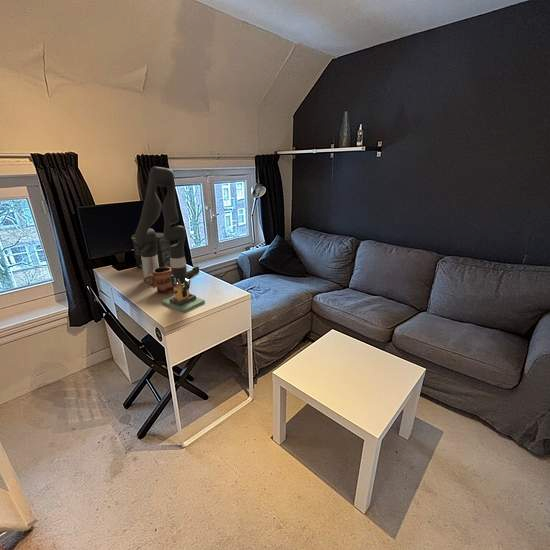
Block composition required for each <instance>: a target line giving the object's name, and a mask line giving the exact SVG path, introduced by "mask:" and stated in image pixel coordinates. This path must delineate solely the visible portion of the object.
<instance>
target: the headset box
mask: <svg viewBox="0 0 550 550" xmlns="http://www.w3.org/2000/svg"><path fill="white" fill-rule="evenodd" d="M155 233H156V238H157V256H158V263H159V268H161V267H171V264H170V252H169V247H170V246H171V241H167V240H166V239H165V238H164V235H163V232H155ZM130 236H131V240H132V246H133V251H134V257H135V262H136V268H137V269H142V270H143V268H142V267H143V264H142V258H141V251H142V250H143V249H144V248H145V247H146V246H147V245H143V246H140V245H138V244H137V243H136V241H135V234H132V235H130Z"/></svg>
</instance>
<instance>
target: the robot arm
mask: <svg viewBox="0 0 550 550" xmlns="http://www.w3.org/2000/svg"><path fill="white" fill-rule="evenodd" d="M174 175H175V174H174V171H173V170H172V169H170V168H169V167H168V168H167V167H162V166H152V167H151V168H150V170H149V174H148V182H147V189H146V193H145V197H144V202H143V206H142V210H141V214H140V218H139V222H138V224H137V228H136V230H135V241H136V243H137V244H138V245H140V246H143V245H147V246H146V247H145V248H144V249H143V250H142V251H141V258H142V264H143V267H142V268H143V269H142V268H141V269H142V274H143V278H144V277H145V276H147V275H151V274H152V273H153V270H154V269H156V268H159V263H158V256H157V238H156V233H157V232H156V231H155V230H154V229H153V228H151V227H152V226H153V225H154V223H156V222H157V220H158V219H159V217H160V215H161V212H162V215H163V221H164V223H163V224H164V225H163V232H162V233H163V235H164V238H165V239H166V240H167V241H170V242H174V241H177V242H176V243H174V244H170V247H169V252H170V264H171V272H172V275H171V276H170V279H171V282H172V285H173V286H175V287H176V286H178V285H180V287H181V288H182V295H183V297H186V296H187V290H188V289H190V287H191V279H188V278H187V279H186V273H187V272H188V270H187V261H186V257H185V256H186V255H185V242H186V241H185V240H186V236H187V230H186V228H185V227H184V225H175V224H177V223H178V222H179V220H180V217H179V216H180V215H179V211H178V207H177V202H176V201H177V199H176V182H175V176H174ZM157 187H163V188H167V194H166V196H165V197H164V199H163V202H161V200H160V198H159V196H158V193H157ZM174 281H175V284H174ZM146 283H147V284H149V285H150V284H152V283H153V281H152V279H151V278H149V279H147V280H146ZM182 284H183V285H182ZM183 286H184V288H183Z"/></svg>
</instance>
